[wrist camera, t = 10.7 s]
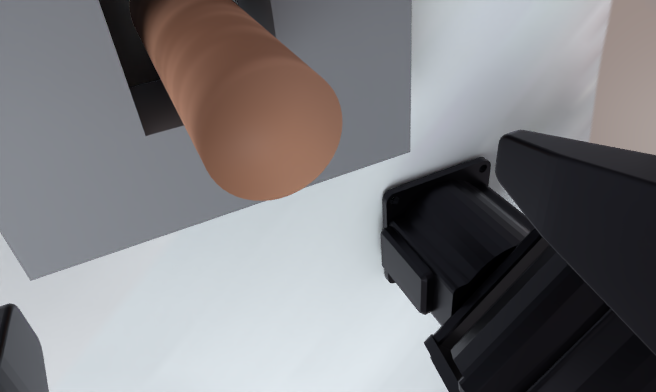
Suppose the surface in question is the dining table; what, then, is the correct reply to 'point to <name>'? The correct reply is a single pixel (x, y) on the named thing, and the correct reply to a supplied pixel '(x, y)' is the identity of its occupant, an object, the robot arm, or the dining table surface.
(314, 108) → the terracotta peg
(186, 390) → the dining table surface
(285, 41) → the hole block
